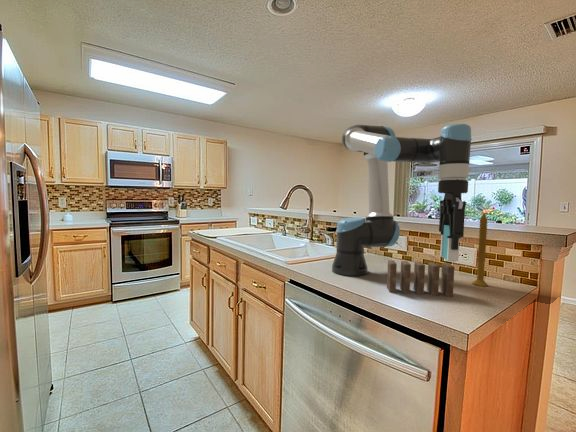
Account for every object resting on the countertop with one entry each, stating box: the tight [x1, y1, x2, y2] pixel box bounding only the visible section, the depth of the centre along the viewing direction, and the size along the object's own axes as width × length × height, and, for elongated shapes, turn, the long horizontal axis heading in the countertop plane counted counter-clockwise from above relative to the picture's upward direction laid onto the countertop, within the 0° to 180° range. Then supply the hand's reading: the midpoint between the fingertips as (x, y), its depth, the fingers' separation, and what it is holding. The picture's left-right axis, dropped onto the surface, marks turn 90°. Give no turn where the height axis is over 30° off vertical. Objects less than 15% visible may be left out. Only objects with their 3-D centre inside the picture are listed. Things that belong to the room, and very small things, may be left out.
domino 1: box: [386, 259, 398, 294], centre depth 99 cm, size 2×5×10 cm, turn 170°
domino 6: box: [440, 262, 455, 297], centre depth 96 cm, size 2×5×10 cm, turn 170°
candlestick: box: [471, 212, 489, 287], centre depth 106 cm, size 27×5×5 cm
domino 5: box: [441, 225, 450, 262], centre depth 84 cm, size 2×5×10 cm, turn 169°
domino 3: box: [412, 261, 426, 296], centre depth 97 cm, size 2×5×10 cm, turn 170°
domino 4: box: [426, 261, 441, 297], centre depth 97 cm, size 2×5×10 cm, turn 170°
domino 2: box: [399, 260, 412, 295], centre depth 98 cm, size 2×5×10 cm, turn 170°
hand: (448, 258), depth 84 cm, fingers closed on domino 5, 5 cm apart
